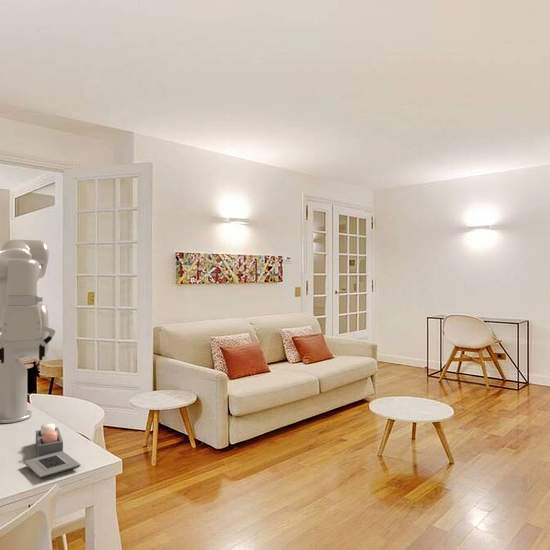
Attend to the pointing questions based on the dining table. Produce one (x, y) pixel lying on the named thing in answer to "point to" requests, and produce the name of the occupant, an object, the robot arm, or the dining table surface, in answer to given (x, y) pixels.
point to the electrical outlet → (52, 464)
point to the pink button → (50, 436)
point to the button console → (48, 444)
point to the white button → (47, 428)
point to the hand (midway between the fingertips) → (21, 360)
